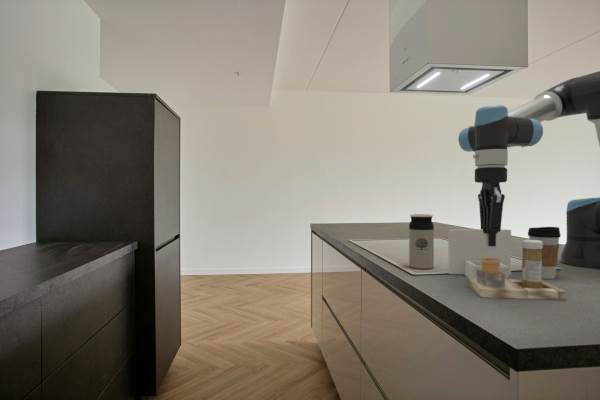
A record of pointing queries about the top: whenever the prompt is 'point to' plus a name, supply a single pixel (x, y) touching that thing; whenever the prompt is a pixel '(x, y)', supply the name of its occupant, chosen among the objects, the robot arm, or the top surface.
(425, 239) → the travel mug
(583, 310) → the top surface
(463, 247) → the tall white box
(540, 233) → the coffee cup
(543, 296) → the socket block
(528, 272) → the sprinkles bottle
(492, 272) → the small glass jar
